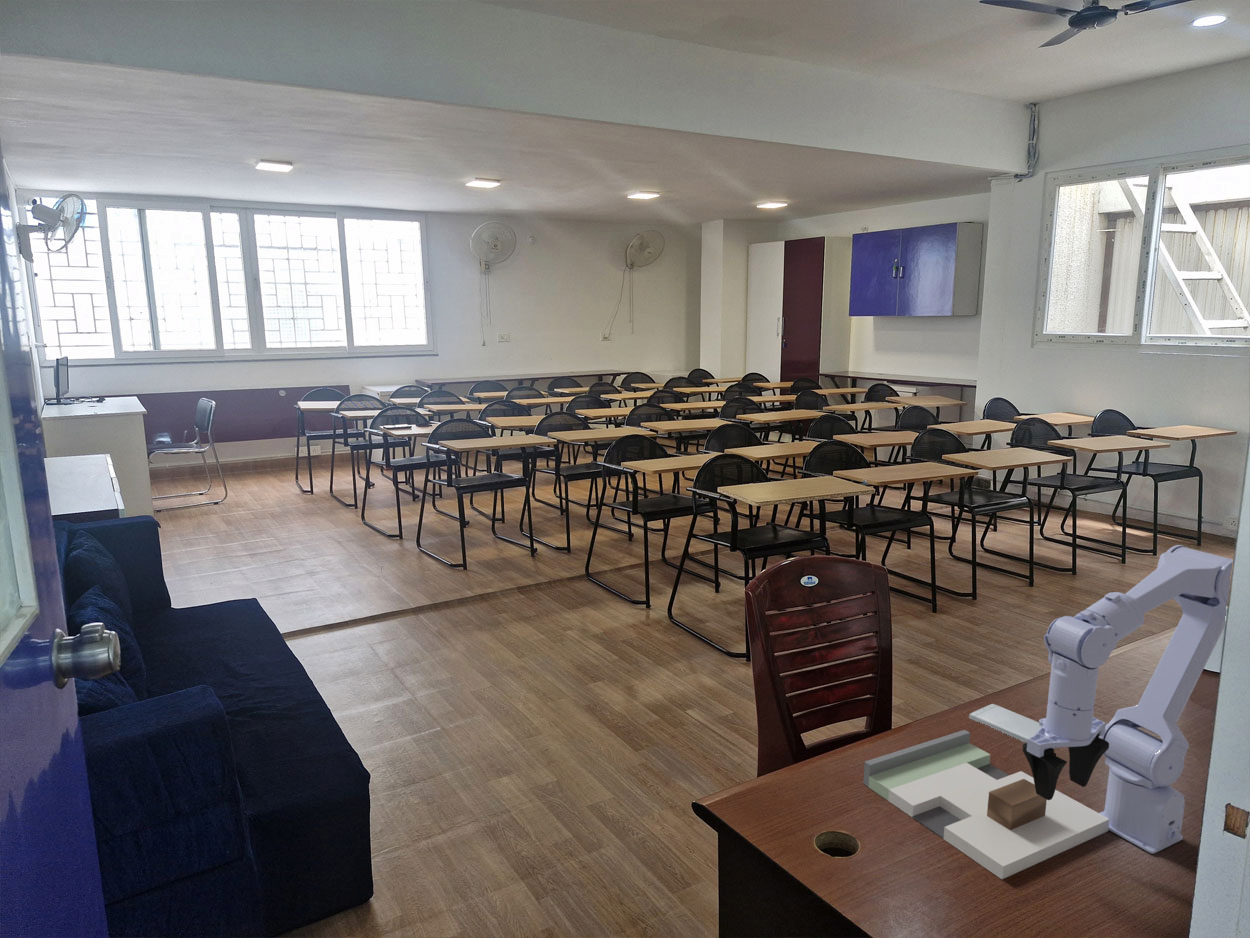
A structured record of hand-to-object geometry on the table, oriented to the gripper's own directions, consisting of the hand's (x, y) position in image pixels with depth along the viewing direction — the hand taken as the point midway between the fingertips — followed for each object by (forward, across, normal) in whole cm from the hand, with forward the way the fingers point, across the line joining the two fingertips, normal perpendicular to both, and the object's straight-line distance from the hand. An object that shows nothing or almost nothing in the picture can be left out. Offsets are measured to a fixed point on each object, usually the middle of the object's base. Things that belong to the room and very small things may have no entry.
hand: (1061, 789), depth 115 cm
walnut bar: (+8, +1, -6) cm, 10 cm away
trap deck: (+10, +1, -12) cm, 15 cm away
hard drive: (+10, -27, -28) cm, 40 cm away
